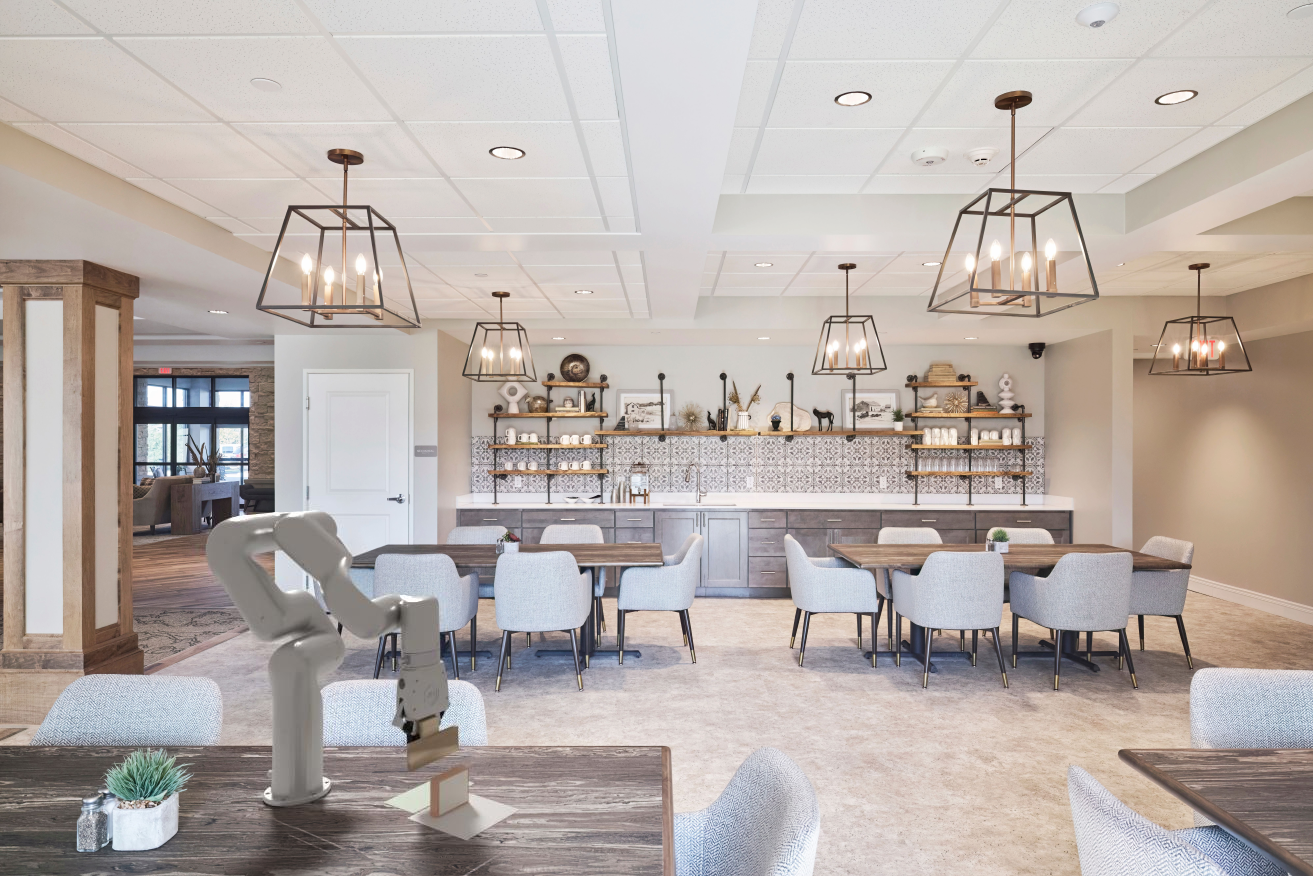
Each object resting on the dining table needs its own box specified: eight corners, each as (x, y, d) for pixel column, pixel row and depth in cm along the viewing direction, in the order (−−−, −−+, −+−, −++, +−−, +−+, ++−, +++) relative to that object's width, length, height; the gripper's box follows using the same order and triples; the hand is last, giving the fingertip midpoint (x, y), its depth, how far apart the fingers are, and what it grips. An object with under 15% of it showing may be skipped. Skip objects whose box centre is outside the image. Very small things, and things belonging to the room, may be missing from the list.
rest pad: (383, 803, 150) (383, 802, 150) (445, 775, 163) (445, 773, 163) (413, 814, 145) (413, 813, 145) (474, 784, 159) (474, 783, 159)
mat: (406, 819, 143) (406, 818, 143) (462, 792, 155) (462, 790, 155) (466, 841, 135) (466, 840, 135) (520, 811, 146) (520, 809, 146)
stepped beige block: (390, 765, 148) (389, 724, 148) (438, 745, 158) (437, 706, 158) (411, 771, 145) (410, 729, 145) (458, 750, 155) (457, 711, 155)
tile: (430, 815, 144) (430, 778, 144) (461, 799, 151) (461, 764, 151) (437, 818, 143) (437, 781, 143) (469, 802, 150) (469, 766, 150)
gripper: (399, 670, 143) (401, 767, 143) (464, 650, 158) (467, 739, 157) (373, 666, 147) (375, 760, 147) (440, 647, 162) (442, 733, 161)
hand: (423, 748), depth 152 cm, fingers closed on stepped beige block, 4 cm apart
